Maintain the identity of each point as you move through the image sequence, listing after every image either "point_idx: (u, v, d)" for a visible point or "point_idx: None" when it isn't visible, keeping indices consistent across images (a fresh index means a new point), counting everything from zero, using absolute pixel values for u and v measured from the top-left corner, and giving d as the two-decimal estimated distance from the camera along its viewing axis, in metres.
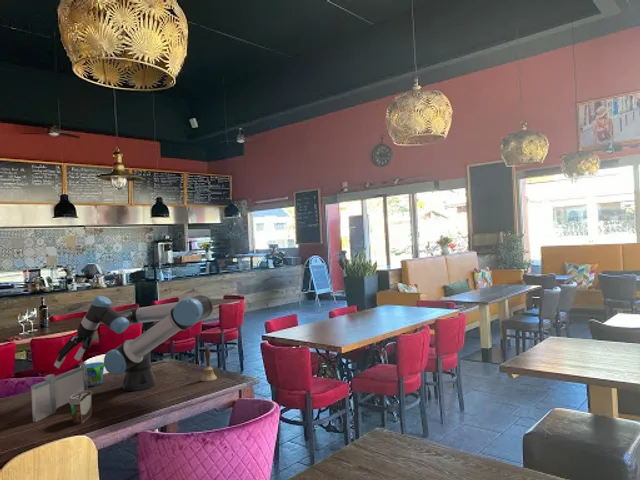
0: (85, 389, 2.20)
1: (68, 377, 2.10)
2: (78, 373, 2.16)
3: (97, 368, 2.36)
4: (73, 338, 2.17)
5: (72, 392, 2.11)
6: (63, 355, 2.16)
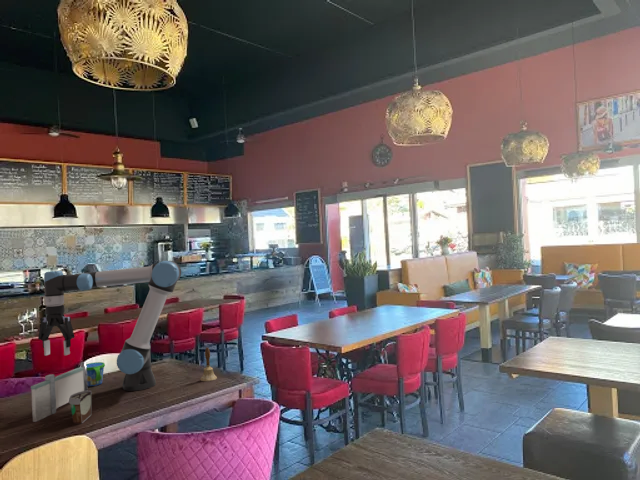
0: (85, 389, 2.20)
1: (68, 377, 2.10)
2: (78, 373, 2.16)
3: (97, 368, 2.36)
4: (69, 318, 2.13)
5: (72, 392, 2.11)
6: None
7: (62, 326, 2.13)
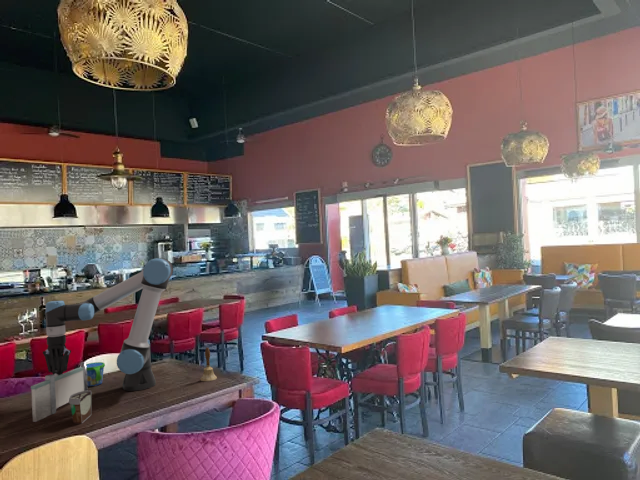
0: (85, 389, 2.20)
1: (68, 377, 2.10)
2: (78, 373, 2.16)
3: (97, 368, 2.36)
4: (69, 352, 2.13)
5: (72, 392, 2.11)
6: (63, 371, 2.15)
7: (60, 358, 2.13)
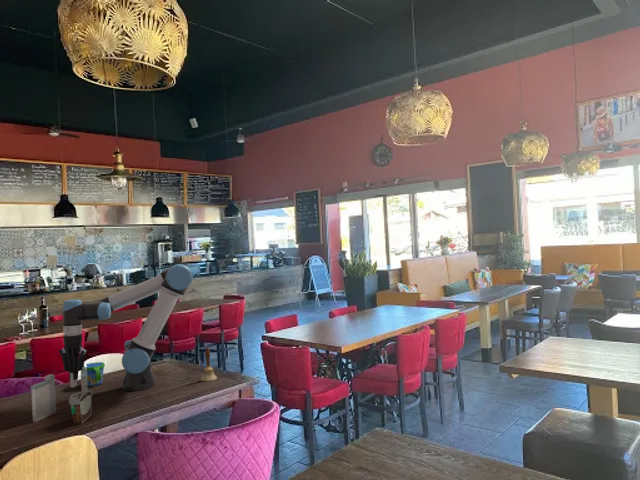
0: None
1: None
2: None
3: (97, 368, 2.36)
4: (85, 352, 2.12)
5: None
6: None
7: (76, 357, 2.12)
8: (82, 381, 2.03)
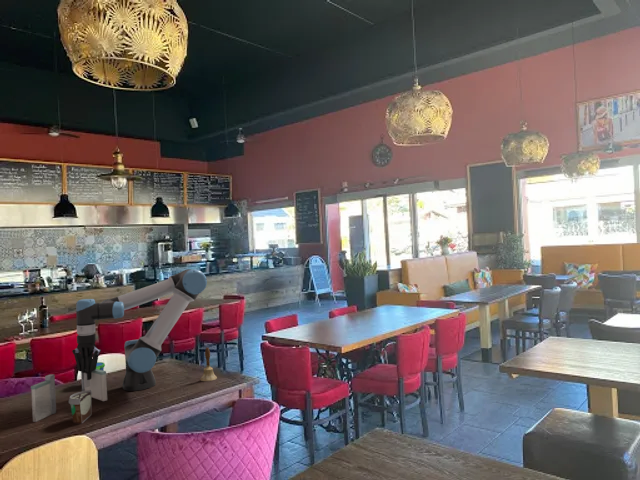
0: None
1: None
2: None
3: (97, 368, 2.36)
4: (99, 351, 2.10)
5: None
6: None
7: (89, 357, 2.11)
8: (103, 377, 2.08)
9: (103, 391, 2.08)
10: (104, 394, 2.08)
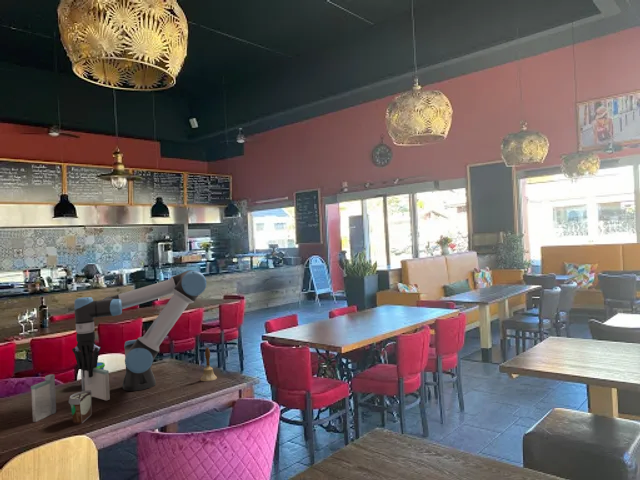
0: None
1: None
2: None
3: None
4: (99, 349, 2.12)
5: None
6: None
7: (90, 355, 2.12)
8: (105, 376, 2.09)
9: (106, 390, 2.09)
10: (107, 393, 2.09)
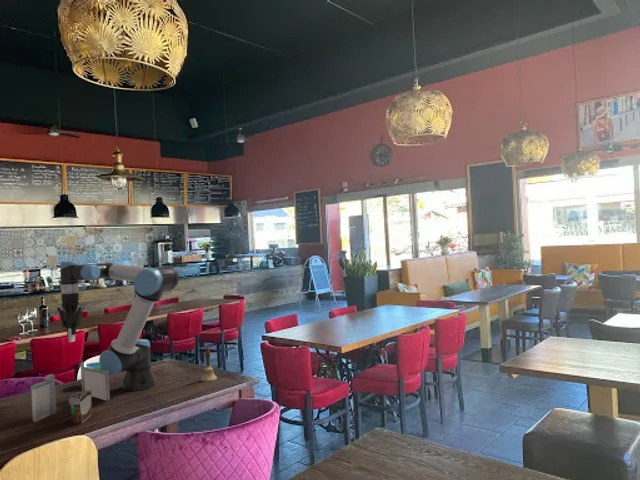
0: None
1: None
2: None
3: None
4: (82, 308, 2.28)
5: None
6: (76, 326, 2.30)
7: (73, 314, 2.28)
8: (105, 376, 2.09)
9: (106, 390, 2.09)
10: (107, 393, 2.09)
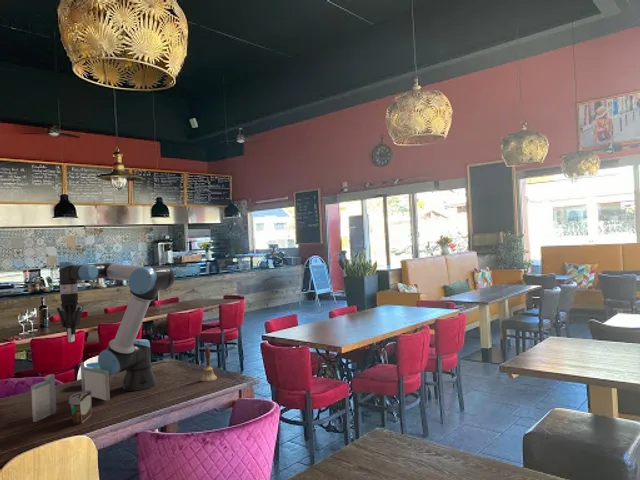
0: None
1: None
2: None
3: None
4: (81, 308, 2.30)
5: None
6: (75, 326, 2.31)
7: (73, 314, 2.30)
8: (105, 376, 2.09)
9: (106, 390, 2.09)
10: (107, 393, 2.09)
